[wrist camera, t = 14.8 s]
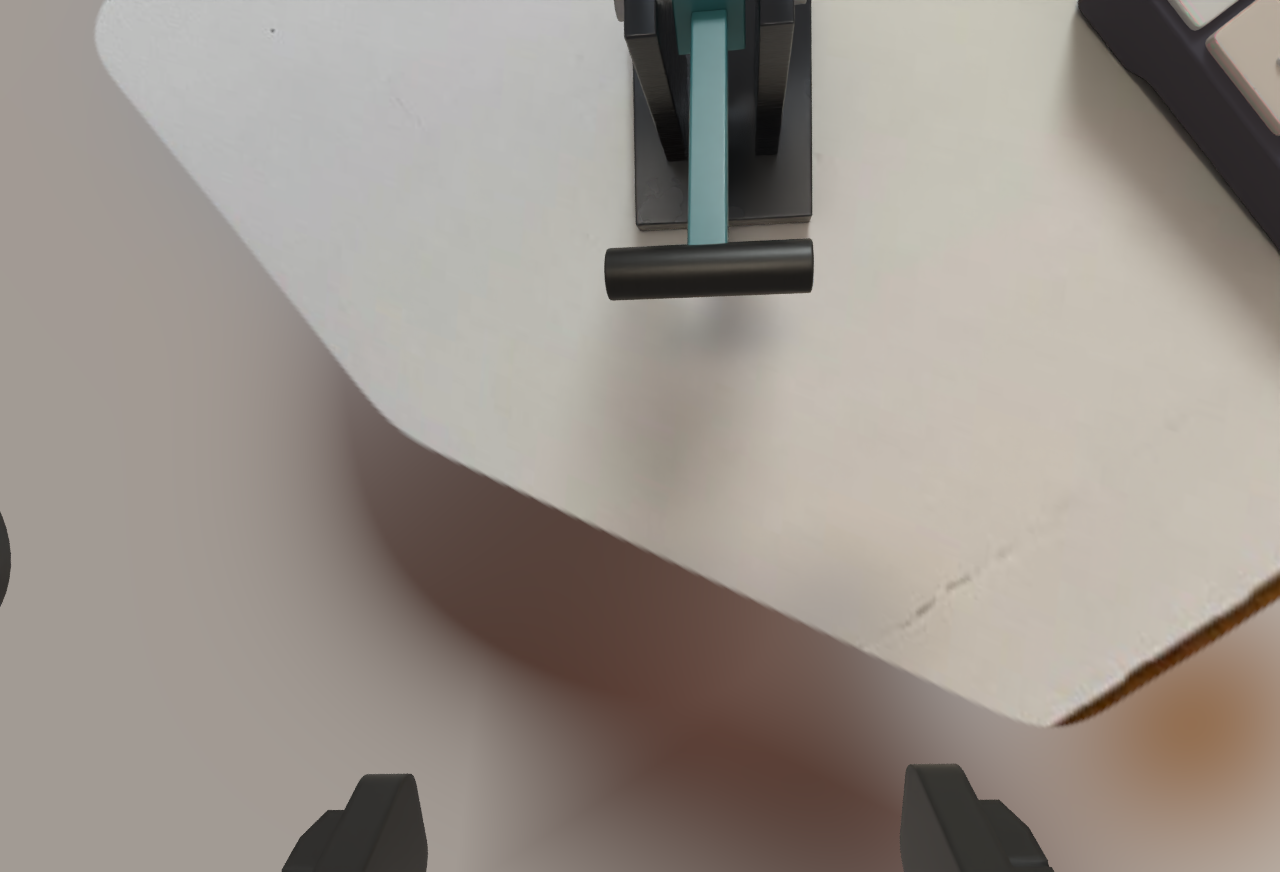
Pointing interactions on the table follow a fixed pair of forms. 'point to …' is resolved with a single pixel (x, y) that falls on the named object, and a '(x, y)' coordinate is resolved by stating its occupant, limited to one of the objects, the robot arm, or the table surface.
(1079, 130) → the table surface
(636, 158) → the bracket
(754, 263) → the lever
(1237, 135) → the calculator
